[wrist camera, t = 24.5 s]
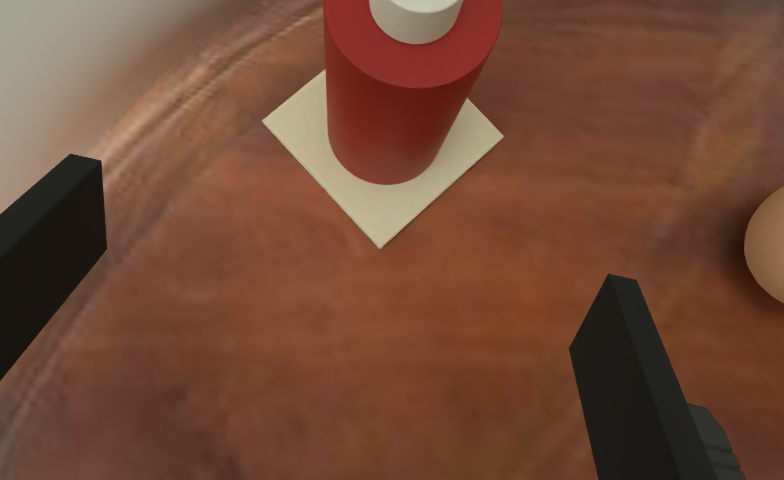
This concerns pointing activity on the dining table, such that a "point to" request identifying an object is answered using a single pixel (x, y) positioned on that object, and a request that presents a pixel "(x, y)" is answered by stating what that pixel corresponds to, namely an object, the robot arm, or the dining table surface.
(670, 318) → the dining table surface
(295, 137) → the mat
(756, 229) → the egg
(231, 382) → the dining table surface
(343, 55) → the ketchup
